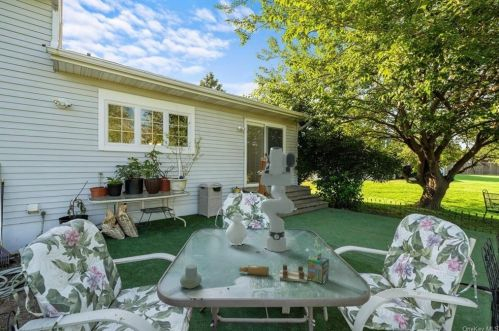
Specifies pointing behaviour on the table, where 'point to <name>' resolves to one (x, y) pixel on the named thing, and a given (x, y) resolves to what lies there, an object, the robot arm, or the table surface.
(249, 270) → the amber bottle
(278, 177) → the robot arm
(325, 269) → the chalk box
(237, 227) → the decorative vase
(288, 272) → the bottle rest
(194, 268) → the air freshener
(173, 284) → the table surface
